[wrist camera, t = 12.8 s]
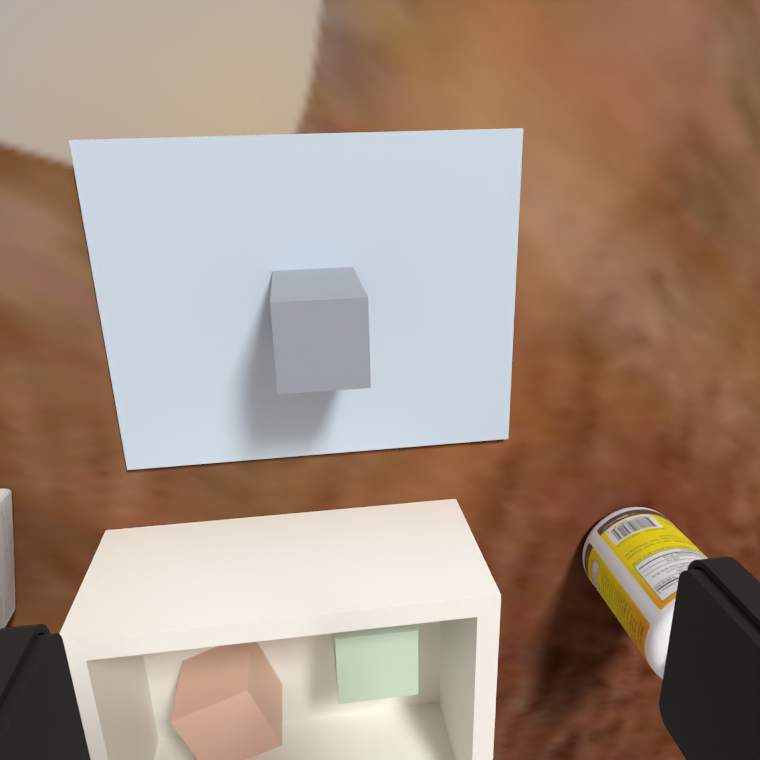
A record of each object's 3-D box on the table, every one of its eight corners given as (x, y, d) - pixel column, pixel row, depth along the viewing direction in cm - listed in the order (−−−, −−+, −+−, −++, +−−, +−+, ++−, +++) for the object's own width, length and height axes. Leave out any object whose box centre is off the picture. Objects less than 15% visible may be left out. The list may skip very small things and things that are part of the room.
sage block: (404, 578, 36) (418, 629, 32) (404, 638, 37) (418, 694, 33) (329, 586, 35) (335, 639, 32) (333, 646, 37) (338, 704, 33)
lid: (515, 128, 30) (579, 127, 24) (502, 430, 35) (551, 498, 29) (76, 139, 28) (12, 142, 21) (131, 460, 33) (94, 540, 27)
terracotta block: (251, 632, 36) (247, 690, 32) (282, 683, 37) (282, 745, 33) (182, 660, 36) (170, 722, 32) (216, 711, 37) (208, 775, 33)
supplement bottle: (629, 598, 40) (737, 745, 30) (559, 561, 38) (651, 703, 28) (689, 527, 38) (823, 656, 29) (620, 485, 37) (737, 608, 27)
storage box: (455, 498, 36) (501, 595, 28) (451, 700, 40) (489, 827, 33) (105, 530, 33) (54, 643, 26) (146, 738, 38) (112, 884, 31)
